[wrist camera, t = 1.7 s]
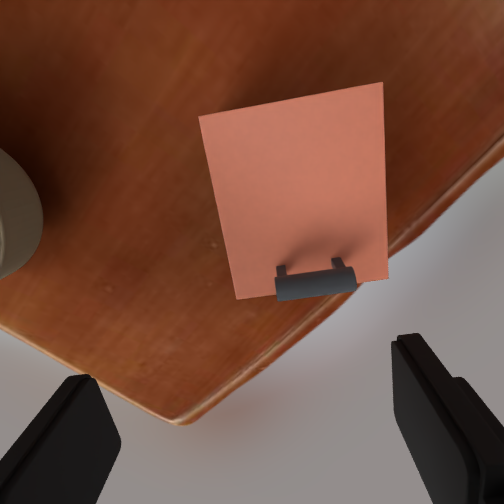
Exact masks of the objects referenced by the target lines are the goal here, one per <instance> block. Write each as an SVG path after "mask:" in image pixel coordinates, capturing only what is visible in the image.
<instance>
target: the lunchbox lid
mask: <svg viewBox="0 0 504 504" xmlns="http://www.w3.org/2000/svg"><path fill="white" fill-rule="evenodd" d="M198 118H199V123H200V128H201V132H202V137H203V142H204V147H205V151H206V156H207V161H208V166H209V170H210V175H211V180H212V185H213V189H214V194H215V199H216V203H217V208H218V213H219V218H220V222H221V227H222V232H223V237H224V241H225V246H226V251H227V255H228V260H229V265H230V270H231V274H232V279H233V284H234V289H235V293H236V298H237V300H238V299H245V298H253V297H260V296H267V295H275V294H276V295H277V300H278V301H285V300H293V299H300V298H307V297H315V296H322V295H330V294H337V293H344V292H352V291H356V289H357V283H362V282H369V281H376V280H383V279H388V244H387V208H386V172H385V136H384V100H383V82H377V83H372V84H367V85H362V86H356V87H351V88H346V89H340V90H335V91H330V92H324V93H319V94H314V95H309V96H303V97H298V98H293V99H287V100H282V101H277V102H272V103H266V104H261V105H256V106H250V107H245V108H240V109H234V110H229V111H224V112H219V113H213V114H208V115H203V116H199V117H198Z"/></svg>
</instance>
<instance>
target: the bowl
mask: <svg viewBox="0 0 504 504" xmlns="http://www.w3.org/2000/svg"><path fill="white" fill-rule="evenodd" d="M42 230H43V211H42V206H41V202H40V199H39V196H38V193H37V191H36V189H35V187H34V185H33V183H32V181H31V180H30V178H29V177H28V175H27V174H26V172H25V171H24V170H23V169H22V167H21V166H20V165H19V164H18V163H17V162H16V161H15V160H14V159H13V158H12V157H10V156H9V155H8V154H7V153H6V152H4V151H3V150H2V149H0V279H2V278H4V277H6V276H8V275H10V274H11V273H13V272H15V271H16V270H18V269H19V268H21V267H22V266H23V265H24V264H25V263H26V262H27V261H28V260H29V259H30V258H31V257H32V255H33V254H34V252H35V251H36V249H37V247H38V245H39V242H40V239H41V236H42Z"/></svg>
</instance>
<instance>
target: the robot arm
mask: <svg viewBox="0 0 504 504" xmlns="http://www.w3.org/2000/svg"><path fill="white" fill-rule="evenodd" d="M391 353H392V378H393V403H394V414H395V418H396V421H397V424H398V426H399V428H400V431H401V433H402V435H403V438H404V440H405V442H406V444H407V447H408V449H409V451H410V453H411V455H412V458H413V460H414V462H415V464H416V467H417V469H418V471H419V473H420V476H421V478H422V480H423V482H424V484H425V487H426V489H427V491H428V493H429V496H430V498H431V500H432V502H433V504H504V427H503V425H502V424H501V423H500V422H499V420H498V419H497V418H496V417H495V416H494V414H493V413H492V412H491V411H490V409H489V408H488V407H487V406H486V404H485V403H484V402H483V401H482V399H481V398H480V397H479V396H478V394H477V393H476V392H475V391H474V389H473V388H472V387H471V386H470V385H469V383H468V382H467V381H466V380H465V379H464V378H462V377H452V376H451V375H450V374H449V372H448V371H447V370H446V368H445V367H444V365H443V364H442V363H441V362H440V360H439V359H438V357H437V356H436V355H435V353H434V352H433V351H432V349H431V348H430V347H429V346H428V344H427V343H426V342H425V340H424V339H423V338H422V336H421V335H420V334H419V333H413V334H405V335H398V337H397V341H392V342H391ZM120 448H121V438H120V436H119V433H118V431H117V428H116V426H115V424H114V422H113V419H112V417H111V414H110V412H109V409H108V407H107V405H106V403H105V400H104V398H103V395H102V393H101V391H100V388H99V386H98V383H97V381H96V379H94V378H92V377H91V376H90V375H89V374H82V375H74V376H69V377H67V378H66V379H65V381H64V382H63V383H62V384H61V386H60V387H59V388H58V389H57V391H56V392H55V393H54V394H53V395H52V397H51V398H50V399H49V400H48V402H47V403H46V404H45V405H44V407H43V408H42V409H41V410H40V412H39V413H38V414H37V416H36V417H35V418H34V419H33V420H32V422H31V423H30V424H29V425H28V427H27V428H26V429H25V430H24V432H23V433H22V434H21V435H20V437H19V438H18V439H17V440H16V442H15V443H14V444H13V445H12V446H11V448H10V449H9V450H8V451H7V453H6V454H5V455H4V456H3V458H2V459H1V460H0V504H96V502H97V500H98V497H99V495H100V493H101V491H102V489H103V487H104V484H105V482H106V480H107V478H108V476H109V473H110V471H111V469H112V467H113V465H114V462H115V460H116V458H117V456H118V453H119V451H120Z"/></svg>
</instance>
